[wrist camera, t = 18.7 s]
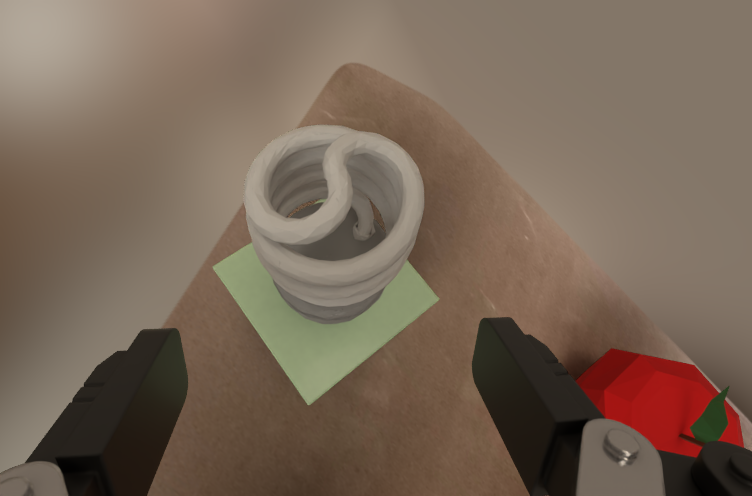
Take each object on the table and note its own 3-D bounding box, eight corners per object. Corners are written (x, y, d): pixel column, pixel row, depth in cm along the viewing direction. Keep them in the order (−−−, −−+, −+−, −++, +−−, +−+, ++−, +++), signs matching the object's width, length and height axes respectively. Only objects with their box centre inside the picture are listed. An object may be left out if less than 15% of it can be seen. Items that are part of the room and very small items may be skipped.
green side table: (338, 242, 33) (344, 183, 24) (405, 327, 31) (440, 299, 22) (245, 305, 30) (211, 266, 21) (313, 402, 29) (308, 406, 19)
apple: (645, 538, 28) (803, 607, 19) (517, 453, 29) (607, 480, 20) (681, 403, 32) (827, 407, 23) (566, 332, 33) (662, 307, 24)
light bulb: (330, 361, 20) (339, 319, 9) (255, 287, 21) (180, 166, 10) (400, 285, 22) (480, 175, 11) (330, 220, 23) (337, 56, 12)
